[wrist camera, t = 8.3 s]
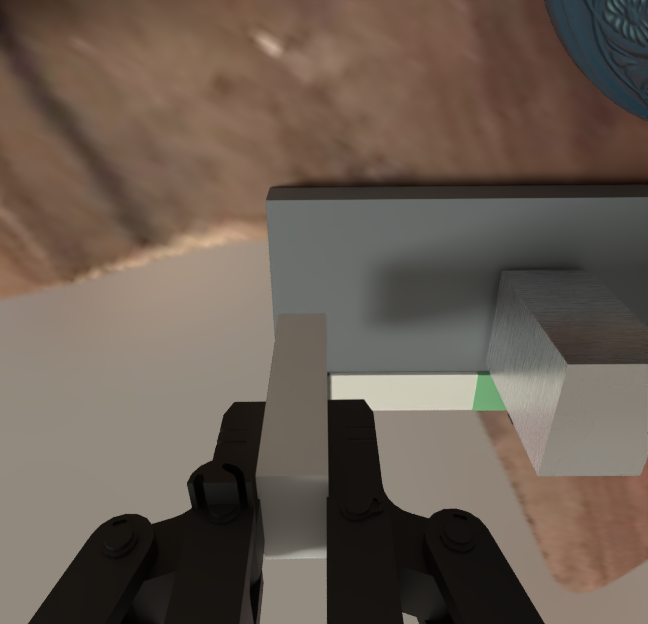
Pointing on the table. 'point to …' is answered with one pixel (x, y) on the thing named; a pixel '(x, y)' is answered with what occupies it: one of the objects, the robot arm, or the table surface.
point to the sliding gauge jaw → (571, 373)
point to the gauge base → (439, 275)
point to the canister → (607, 46)
